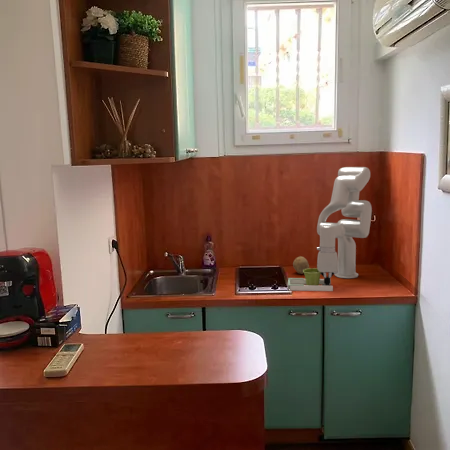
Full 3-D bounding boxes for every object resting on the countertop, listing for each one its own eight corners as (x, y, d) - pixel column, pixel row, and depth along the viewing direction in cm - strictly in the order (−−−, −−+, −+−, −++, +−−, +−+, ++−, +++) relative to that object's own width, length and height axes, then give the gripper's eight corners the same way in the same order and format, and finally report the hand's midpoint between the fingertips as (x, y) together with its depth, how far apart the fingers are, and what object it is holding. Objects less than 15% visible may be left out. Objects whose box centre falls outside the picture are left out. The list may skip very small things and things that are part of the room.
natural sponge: (292, 271, 270) (292, 254, 269) (307, 271, 270) (307, 254, 269) (293, 275, 261) (293, 258, 260) (309, 275, 261) (309, 258, 260)
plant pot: (320, 290, 232) (320, 273, 231) (301, 289, 235) (301, 272, 234) (323, 284, 241) (322, 268, 240) (305, 284, 244) (304, 268, 243)
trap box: (288, 283, 246) (288, 278, 246) (330, 283, 243) (330, 278, 243) (288, 290, 233) (287, 284, 233) (332, 291, 230) (332, 285, 230)
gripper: (312, 251, 231) (312, 286, 234) (343, 251, 229) (343, 287, 232) (312, 248, 239) (311, 282, 241) (341, 248, 237) (341, 283, 239)
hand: (327, 284), depth 237 cm, fingers closed
